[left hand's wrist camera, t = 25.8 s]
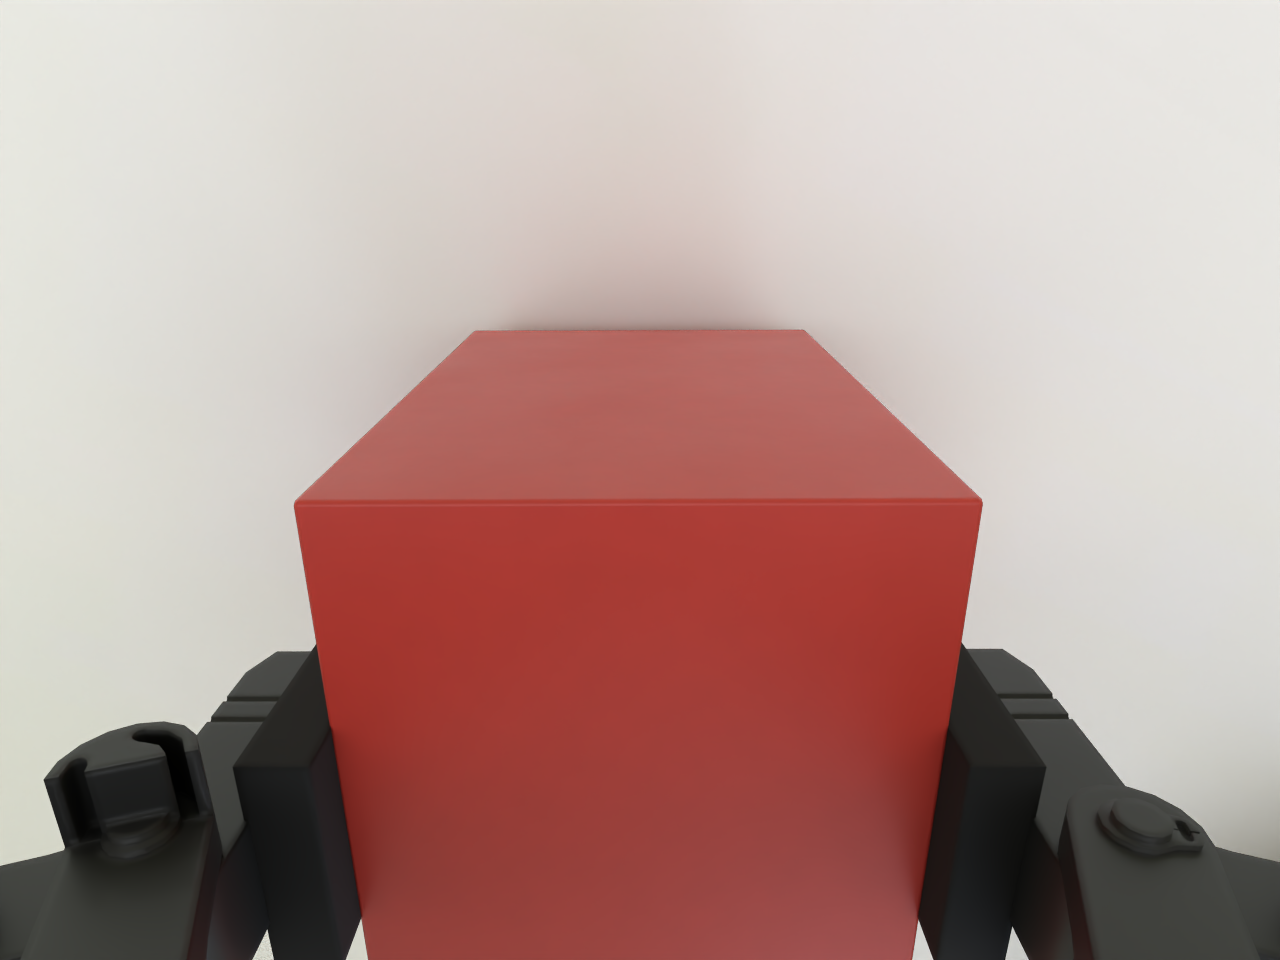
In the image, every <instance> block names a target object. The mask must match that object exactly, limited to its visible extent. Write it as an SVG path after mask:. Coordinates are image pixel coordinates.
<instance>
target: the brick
mask: <svg viewBox="0 0 1280 960" xmlns="http://www.w3.org/2000/svg"><path fill="white" fill-rule="evenodd" d="M982 506H983V502H982V499H981V498H980V497H979V496H978V495H977V494H976V493H975V492H974V491H973V490H972V489H970V488H969V487H968V486H967V485H966V484H965V483H964V482H963V481H962V480H961V479H960V478H959V477H958V476H957V475H956V474H955V473H954V472H953V471H952V470H951V469H949V468H948V467H947V466H946V465H945V464H944V463H943V462H942V461H941V460H940V459H939V458H938V457H937V456H936V455H935V454H934V453H933V452H932V451H931V450H930V449H928V448H927V447H926V446H925V445H924V444H923V443H922V442H921V441H920V440H919V439H918V438H917V437H916V436H915V435H914V434H913V433H912V432H911V431H910V430H909V429H907V428H906V427H905V426H904V425H903V424H902V423H901V422H900V421H899V420H898V419H897V418H896V417H895V416H894V415H893V414H892V413H891V412H890V411H889V410H888V409H886V408H885V407H884V406H883V405H882V404H881V403H880V402H879V401H878V400H877V399H876V398H875V397H874V396H873V395H872V394H871V393H870V392H869V391H868V390H867V389H865V388H864V387H863V386H862V385H861V384H860V383H859V382H858V381H857V380H856V379H855V378H854V377H853V376H852V375H851V374H850V373H849V372H848V371H847V370H845V369H844V368H843V367H842V366H841V365H840V364H839V363H838V362H837V361H836V360H835V359H834V358H833V357H832V356H831V355H830V354H829V353H828V352H827V351H826V350H824V349H823V348H822V347H821V346H820V345H819V344H818V343H817V342H816V341H815V340H814V339H813V338H812V337H811V336H810V335H809V334H808V333H807V332H806V331H804V330H590V331H474V332H473V333H472V334H471V335H470V336H469V337H468V338H467V339H466V340H465V341H464V342H463V343H461V344H460V345H459V346H458V347H457V348H456V349H455V350H454V351H453V352H452V353H451V354H450V355H449V356H448V357H447V358H446V359H445V360H444V361H442V362H441V363H440V364H439V365H438V366H437V367H436V368H435V369H434V370H433V371H432V372H431V373H430V374H429V375H428V376H427V377H426V378H424V379H423V380H422V381H421V382H420V383H419V384H418V385H417V386H416V387H415V388H414V389H413V390H412V391H411V392H410V393H409V394H408V395H407V396H405V397H404V398H403V399H402V400H401V401H400V402H399V403H398V404H397V405H396V406H395V407H394V408H393V409H392V410H391V411H390V412H389V413H387V414H386V415H385V416H384V417H383V418H382V419H381V420H380V421H379V422H378V423H377V424H376V425H375V426H374V427H373V428H372V429H371V430H370V431H368V432H367V433H366V434H365V435H364V436H363V437H362V438H361V439H360V440H359V441H358V442H357V443H356V444H355V445H354V446H353V447H352V448H350V449H349V450H348V451H347V452H346V453H345V454H344V455H343V456H342V457H341V458H340V459H339V460H338V461H337V462H336V463H335V464H334V465H333V466H331V467H330V468H329V469H328V470H327V471H326V472H325V473H324V474H323V475H322V476H321V477H320V478H319V479H318V480H317V481H316V482H315V483H313V484H312V485H311V486H310V487H309V488H308V489H307V490H306V491H305V492H304V493H303V494H302V495H301V496H300V497H299V498H298V499H297V500H296V501H295V503H294V510H295V516H296V522H297V528H298V534H299V540H300V546H301V552H302V559H303V565H304V571H305V577H306V583H307V589H308V595H309V601H310V607H311V614H312V620H313V626H314V632H315V638H316V644H317V650H318V656H319V662H320V668H321V675H322V681H323V687H324V693H325V699H326V705H327V711H328V717H329V723H330V726H331V731H332V737H333V743H334V750H335V756H336V762H337V768H338V775H339V781H340V787H341V793H342V800H343V806H344V812H345V818H346V825H347V831H348V837H349V843H350V850H351V856H352V862H353V868H354V874H355V881H356V887H357V893H358V899H359V906H360V912H361V919H362V925H363V931H364V937H365V943H366V949H367V955H368V960H912V957H913V950H914V944H915V937H916V931H917V924H918V914H919V908H920V902H921V895H922V889H923V883H924V876H925V870H926V864H927V857H928V851H929V845H930V839H931V832H932V826H933V820H934V813H935V807H936V801H937V794H938V788H939V782H940V775H941V769H942V763H943V756H944V750H945V744H946V737H947V731H948V725H949V718H950V712H951V705H952V699H953V692H954V686H955V680H956V673H957V667H958V660H959V654H960V647H961V641H962V635H963V628H964V622H965V615H966V609H967V602H968V596H969V589H970V583H971V577H972V570H973V564H974V557H975V551H976V544H977V538H978V531H979V525H980V519H981V512H982Z"/></svg>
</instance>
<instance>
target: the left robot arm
mask: <svg viewBox="0 0 1280 960" xmlns="http://www.w3.org/2000/svg"><path fill="white" fill-rule="evenodd" d="M44 783H45V786H46V789H47V792H48V795H49V798H50V802H51V805H52V808H53V811H54V814H55V817H56V820H57V823H58V827H59V830H60V833H61V836H62V839H63V842H64V845H65V849H64V850H63V851H60V852H57V853H53V854H50V855H46V856H42V857H37V858H33V859H29V860H24V861H20V862H15V863H11V864H7V865H2V866H0V960H252V959H253V957H254V955H255V953H256V951H257V949H258V947H259V945H260V943H261V941H262V939H263V937H264V935H265V933H266V931H267V929H268V934H269V939H270V943H271V948H272V952H273V957H274V960H346V957H347V955H348V952H349V949H350V947H351V944H352V941H353V939H354V936H355V933H356V930H357V928H358V925H359V922H360V920H361V912H360V906H359V899H358V893H357V887H356V881H355V874H354V868H353V862H352V856H351V850H350V843H349V837H348V831H347V825H346V818H345V812H344V806H343V800H342V793H341V787H340V781H339V775H338V768H337V762H336V756H335V750H334V743H333V737H332V731H331V726H330V723H329V717H328V711H327V705H326V699H325V693H324V687H323V681H322V675H321V668H320V662H319V656H318V650H317V644H316V645H315V647H314V648H313V650H312V651H311V652H276V653H274V654H273V655H271V656H270V657H268V658H267V659H265V660H264V661H262V662H261V663H259V664H258V665H256V666H255V667H254V668H252V669H251V670H249V671H248V672H246V673H245V675H244V676H243V677H242V678H241V680H240V681H239V682H238V684H237V685H236V686H235V687H234V689H233V690H232V691H231V692H230V694H229V695H228V696H227V701H226V702H223V703H222V704H221V705H220V706H219V708H218V709H217V710H216V712H215V713H214V714H213V715H212V717H211V722H207V723H206V724H205V726H204V727H203V728H202V729H201V731H200V732H199V733H198V734H197V735H196V734H195V733H193V732H192V731H191V730H190V729H188V728H187V727H186V726H184V725H179V724H174V723H169V722H152V723H140V724H135V725H131V726H127V727H124V728H120V729H117V730H113V731H109V732H107V733H105V734H103V735H101V736H98V737H96V738H94V739H92V740H90V741H88V742H86V743H84V744H81V745H80V746H78V747H77V748H76V749H74V750H73V751H72V752H70V753H69V754H67V755H66V756H65V757H63V758H62V759H61V760H59V761H58V762H57V763H56V764H55V766H54V767H53V768H52V770H51V771H50V772H49V773H48V775H47V776H46V777H45V779H44ZM918 919H919V922H920V925H921V927H922V930H923V933H924V935H925V938H926V941H927V943H928V946H929V949H930V952H931V954H932V957H933V960H1005V957H1006V953H1007V948H1008V944H1009V939H1010V934H1011V930H1012V926H1013V928H1014V930H1015V932H1016V934H1017V937H1018V939H1019V941H1020V943H1021V945H1022V947H1023V949H1024V951H1025V953H1026V955H1027V957H1028V959H1029V960H1280V862H1275V861H1271V860H1267V859H1262V858H1258V857H1253V856H1249V855H1245V854H1240V853H1236V852H1231V851H1228V850H1225V849H1221V848H1218V847H1215V846H1214V844H1213V843H1212V841H1211V840H1210V838H1209V837H1208V835H1207V834H1206V832H1205V831H1204V829H1203V828H1202V827H1201V826H1200V825H1199V824H1198V823H1196V822H1195V821H1194V820H1193V819H1192V818H1190V817H1189V816H1188V815H1187V814H1186V813H1184V812H1183V811H1182V810H1181V809H1179V808H1177V807H1175V806H1174V805H1172V804H1170V803H1168V802H1166V801H1164V800H1162V799H1160V798H1158V797H1157V796H1155V795H1152V794H1149V793H1146V792H1143V791H1139V790H1136V789H1133V788H1130V787H1126V786H1125V785H1124V784H1123V783H1122V781H1121V780H1120V779H1119V778H1118V776H1117V775H1116V774H1115V772H1114V771H1113V770H1112V769H1111V767H1110V766H1109V765H1108V764H1107V762H1106V761H1105V760H1104V759H1103V757H1102V756H1101V755H1100V753H1099V752H1098V751H1097V750H1096V748H1095V747H1094V746H1093V745H1092V743H1091V742H1090V741H1089V740H1088V738H1087V737H1086V736H1085V734H1084V733H1083V732H1082V731H1081V729H1080V728H1079V727H1078V726H1077V724H1076V723H1075V722H1074V721H1073V719H1069V717H1068V713H1067V712H1066V710H1065V709H1064V708H1063V707H1062V705H1061V704H1060V703H1059V702H1058V700H1057V699H1053V697H1052V693H1051V691H1050V690H1049V689H1048V688H1047V686H1046V685H1045V684H1044V683H1043V681H1042V680H1041V679H1040V678H1039V676H1038V675H1037V674H1036V672H1035V671H1034V670H1033V669H1032V668H1030V667H1029V666H1027V665H1026V664H1024V663H1023V662H1021V661H1020V660H1018V659H1017V658H1015V657H1014V656H1012V655H1011V654H1009V653H1008V652H1006V651H1005V650H1003V649H966V648H965V647H964V645H963V644H962V642H961V647H960V654H959V660H958V667H957V673H956V680H955V686H954V692H953V699H952V705H951V712H950V718H949V725H948V731H947V737H946V744H945V750H944V756H943V763H942V769H941V775H940V782H939V788H938V794H937V801H936V807H935V813H934V820H933V826H932V832H931V839H930V845H929V851H928V857H927V864H926V870H925V876H924V883H923V889H922V895H921V902H920V908H919V914H918Z"/></svg>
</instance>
